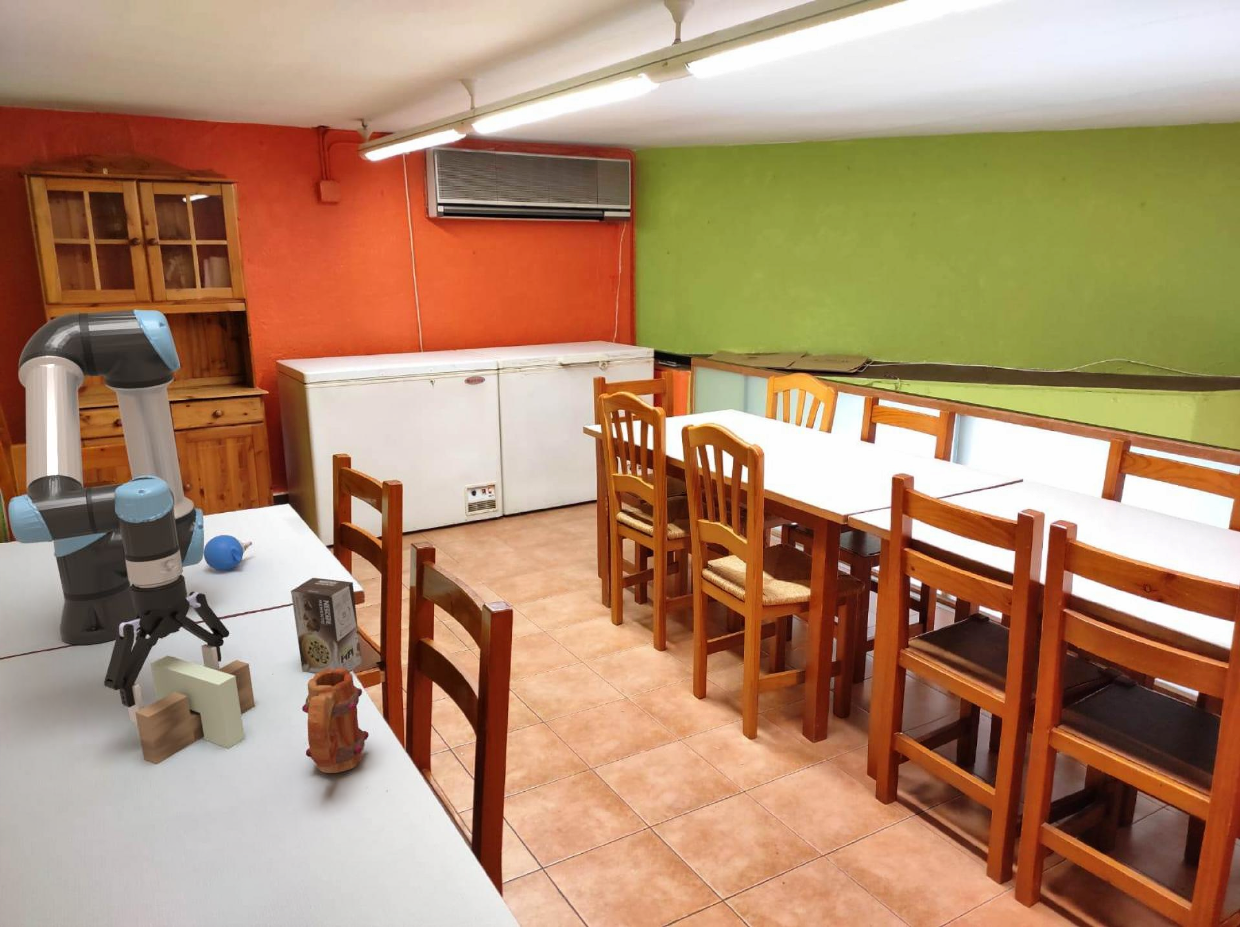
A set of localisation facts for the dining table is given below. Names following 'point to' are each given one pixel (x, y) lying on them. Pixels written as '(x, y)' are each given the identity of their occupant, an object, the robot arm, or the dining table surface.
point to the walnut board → (183, 718)
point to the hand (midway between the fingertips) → (177, 700)
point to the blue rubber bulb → (224, 552)
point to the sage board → (203, 697)
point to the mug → (334, 721)
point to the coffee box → (326, 625)
